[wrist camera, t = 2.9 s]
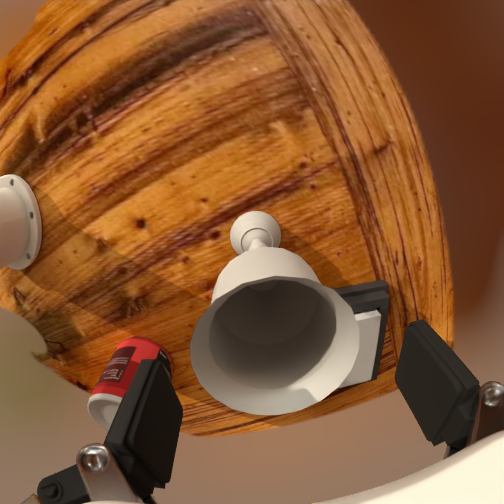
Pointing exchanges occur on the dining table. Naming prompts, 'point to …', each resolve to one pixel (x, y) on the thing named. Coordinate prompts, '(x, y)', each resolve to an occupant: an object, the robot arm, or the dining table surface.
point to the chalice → (271, 328)
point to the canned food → (123, 376)
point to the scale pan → (364, 347)
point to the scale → (367, 299)
